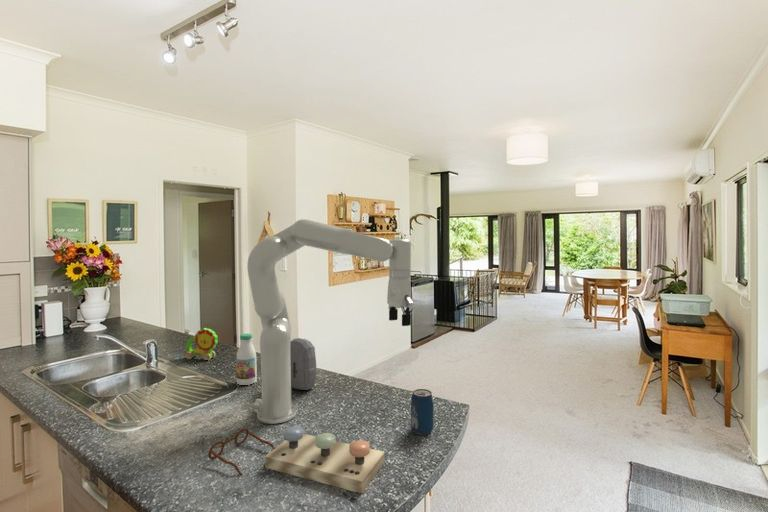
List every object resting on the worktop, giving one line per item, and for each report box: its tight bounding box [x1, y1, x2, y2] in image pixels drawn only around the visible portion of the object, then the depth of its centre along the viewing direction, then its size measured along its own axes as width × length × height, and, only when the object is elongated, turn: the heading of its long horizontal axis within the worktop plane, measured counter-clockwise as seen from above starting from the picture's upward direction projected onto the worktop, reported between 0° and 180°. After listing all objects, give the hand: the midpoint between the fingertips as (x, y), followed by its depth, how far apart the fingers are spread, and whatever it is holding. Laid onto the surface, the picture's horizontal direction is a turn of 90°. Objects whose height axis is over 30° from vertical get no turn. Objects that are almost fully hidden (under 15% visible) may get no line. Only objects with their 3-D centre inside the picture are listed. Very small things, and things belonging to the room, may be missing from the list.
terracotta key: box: [349, 439, 371, 457], centre depth 103 cm, size 5×5×2 cm
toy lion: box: [184, 327, 219, 361], centre depth 197 cm, size 16×5×15 cm, turn 79°
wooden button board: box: [264, 433, 386, 494], centre depth 107 cm, size 28×14×4 cm, turn 68°
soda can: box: [410, 388, 435, 436], centre depth 126 cm, size 7×7×12 cm
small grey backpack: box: [290, 337, 317, 391], centre depth 159 cm, size 15×8×20 cm, turn 58°
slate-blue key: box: [283, 425, 304, 441], centre depth 110 cm, size 5×5×2 cm
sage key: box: [315, 432, 336, 449], centre depth 107 cm, size 5×5×2 cm
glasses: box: [207, 427, 276, 477], centre depth 111 cm, size 13×13×5 cm
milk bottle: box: [236, 333, 258, 386], centre depth 165 cm, size 8×8×20 cm
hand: (399, 322), depth 143 cm, fingers open, 9 cm apart
